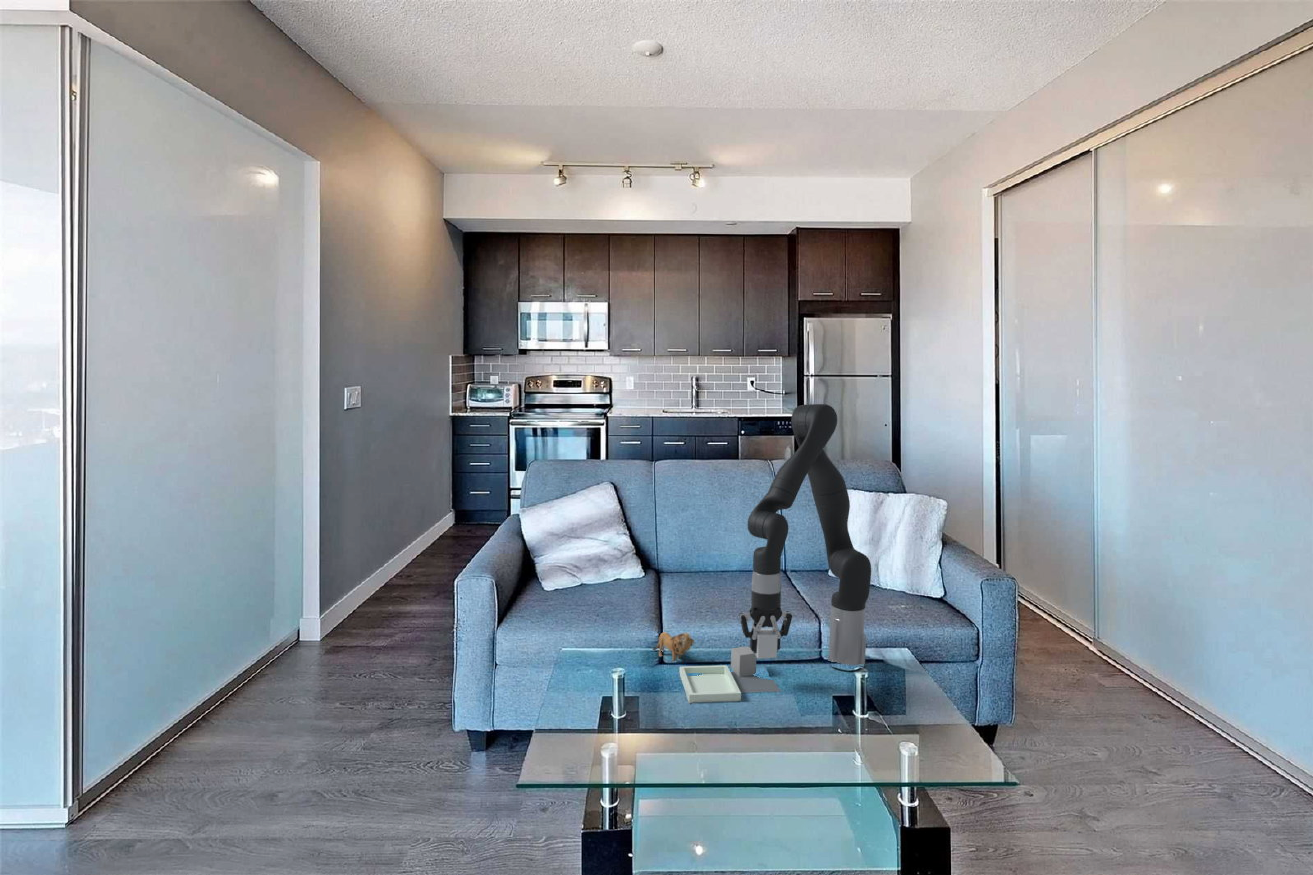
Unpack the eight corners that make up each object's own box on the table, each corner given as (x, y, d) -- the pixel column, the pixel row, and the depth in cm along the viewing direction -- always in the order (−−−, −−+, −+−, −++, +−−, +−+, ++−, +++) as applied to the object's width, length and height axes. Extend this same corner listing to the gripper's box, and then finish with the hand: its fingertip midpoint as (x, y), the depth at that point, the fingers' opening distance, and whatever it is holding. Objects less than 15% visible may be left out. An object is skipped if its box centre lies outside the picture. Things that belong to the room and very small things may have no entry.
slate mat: (764, 667, 214) (765, 666, 214) (780, 693, 198) (780, 691, 198) (725, 668, 213) (726, 667, 213) (738, 694, 197) (738, 692, 197)
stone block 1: (746, 667, 213) (747, 646, 212) (755, 674, 208) (756, 653, 208) (730, 669, 211) (731, 648, 210) (739, 676, 207) (740, 655, 206)
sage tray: (726, 673, 209) (727, 665, 209) (740, 702, 192) (741, 693, 192) (679, 675, 208) (679, 666, 207) (689, 704, 191) (689, 694, 191)
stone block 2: (771, 650, 203) (772, 628, 203) (776, 657, 198) (777, 635, 198) (753, 651, 203) (753, 629, 202) (758, 658, 198) (758, 636, 197)
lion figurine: (696, 664, 215) (697, 633, 214) (683, 669, 212) (684, 637, 211) (658, 648, 226) (659, 619, 225) (645, 653, 222) (646, 623, 221)
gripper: (789, 582, 203) (787, 644, 205) (735, 584, 201) (734, 647, 203) (797, 591, 196) (796, 656, 198) (742, 593, 194) (741, 658, 196)
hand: (764, 651), depth 200 cm, fingers closed on stone block 2, 5 cm apart
